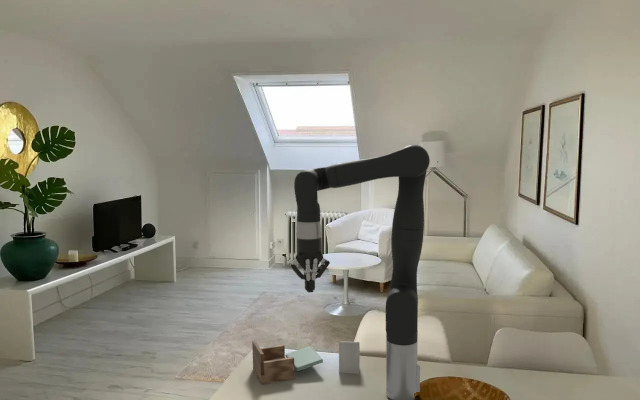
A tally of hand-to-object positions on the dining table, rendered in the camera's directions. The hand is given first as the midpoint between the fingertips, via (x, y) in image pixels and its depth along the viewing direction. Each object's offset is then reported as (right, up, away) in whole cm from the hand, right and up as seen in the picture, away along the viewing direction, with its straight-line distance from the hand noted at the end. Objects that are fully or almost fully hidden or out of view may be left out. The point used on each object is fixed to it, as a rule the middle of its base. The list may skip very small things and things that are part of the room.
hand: (310, 291), depth 155 cm
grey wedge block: (+13, -30, +15) cm, 36 cm away
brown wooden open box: (-12, -30, +13) cm, 35 cm away
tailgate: (-6, -26, +15) cm, 31 cm away
